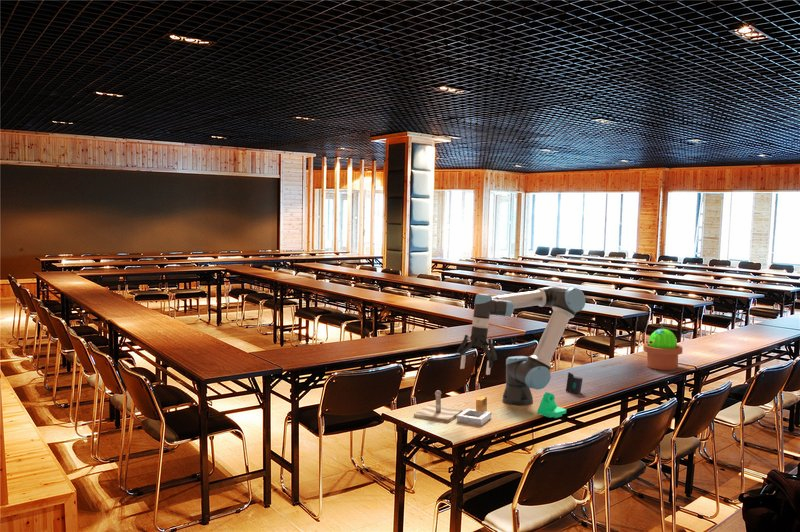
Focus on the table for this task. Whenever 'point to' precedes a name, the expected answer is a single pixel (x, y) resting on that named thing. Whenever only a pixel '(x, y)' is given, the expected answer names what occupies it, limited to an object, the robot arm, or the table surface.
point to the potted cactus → (662, 350)
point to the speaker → (574, 383)
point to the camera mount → (550, 407)
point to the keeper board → (438, 416)
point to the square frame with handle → (475, 413)
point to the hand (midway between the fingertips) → (474, 371)
